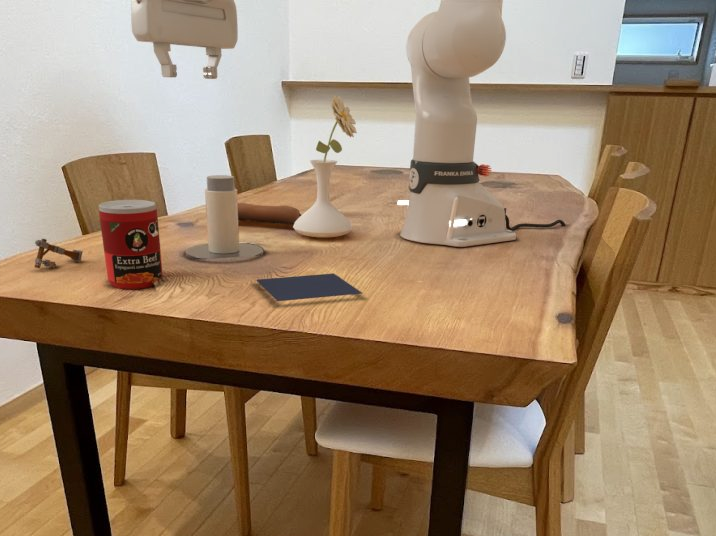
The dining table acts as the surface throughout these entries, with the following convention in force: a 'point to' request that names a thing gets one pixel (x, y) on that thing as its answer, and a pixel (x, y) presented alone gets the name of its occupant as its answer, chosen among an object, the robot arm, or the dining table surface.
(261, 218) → the sunglasses case
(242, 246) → the coaster
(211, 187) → the shaker
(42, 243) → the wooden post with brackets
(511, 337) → the dining table surface
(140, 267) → the canned food
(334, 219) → the flower in vase
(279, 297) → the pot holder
